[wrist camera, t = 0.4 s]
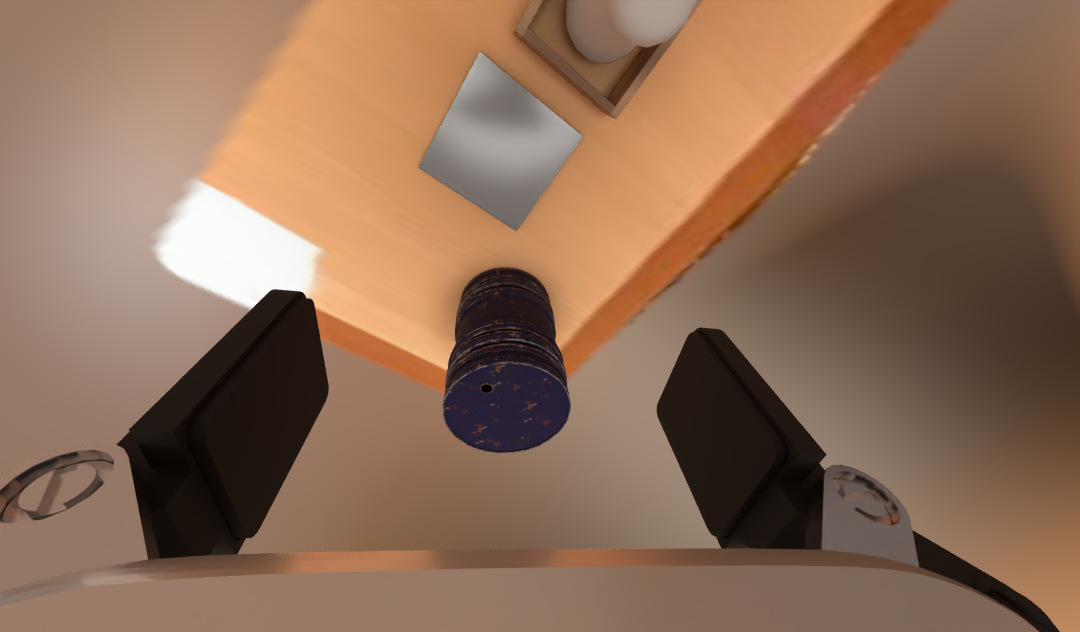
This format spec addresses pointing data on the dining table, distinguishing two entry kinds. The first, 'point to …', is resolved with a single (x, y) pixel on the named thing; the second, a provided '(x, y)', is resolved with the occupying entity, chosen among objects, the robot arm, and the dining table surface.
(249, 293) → the dining table surface
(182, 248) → the dining table surface
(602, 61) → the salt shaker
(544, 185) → the coaster
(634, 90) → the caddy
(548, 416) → the dark blue cylinder
